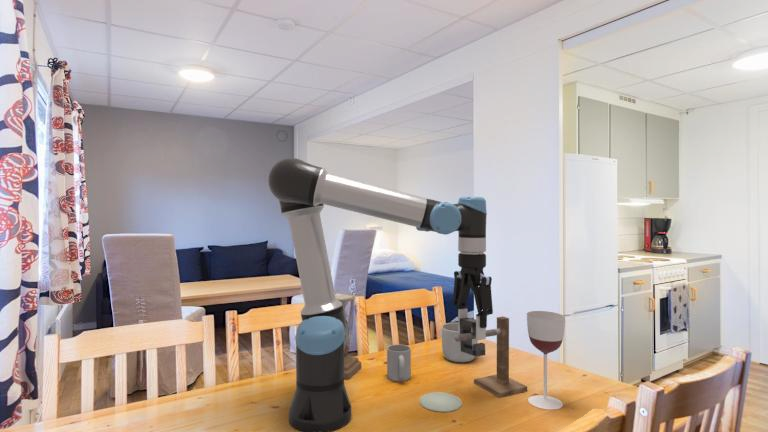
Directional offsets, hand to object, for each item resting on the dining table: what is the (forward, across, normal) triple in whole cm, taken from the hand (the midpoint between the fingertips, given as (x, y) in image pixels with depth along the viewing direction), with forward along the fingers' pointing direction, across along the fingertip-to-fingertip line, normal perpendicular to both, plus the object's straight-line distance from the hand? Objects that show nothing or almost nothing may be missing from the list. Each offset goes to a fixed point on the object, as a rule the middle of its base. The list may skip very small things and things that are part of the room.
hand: (471, 335), depth 120 cm
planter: (+16, +25, -14) cm, 33 cm away
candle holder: (+17, +32, +27) cm, 45 cm away
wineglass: (+16, -13, -14) cm, 25 cm away
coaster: (+16, -1, +11) cm, 20 cm away
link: (+5, -1, 0) cm, 5 cm away
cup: (+16, +18, +13) cm, 28 cm away
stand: (+16, 0, -5) cm, 17 cm away
